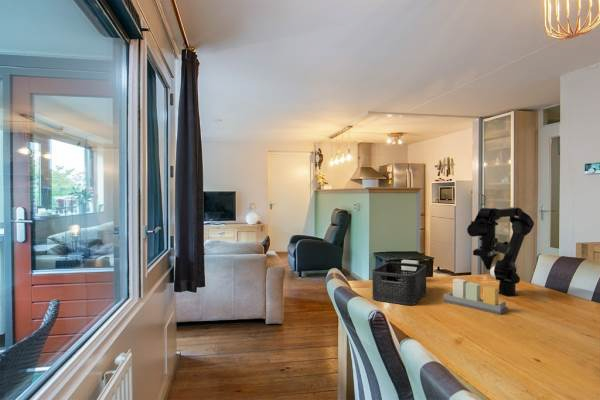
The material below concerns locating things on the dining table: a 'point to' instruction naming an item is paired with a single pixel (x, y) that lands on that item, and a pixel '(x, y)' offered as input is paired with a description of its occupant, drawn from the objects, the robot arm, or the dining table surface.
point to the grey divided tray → (476, 304)
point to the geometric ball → (492, 272)
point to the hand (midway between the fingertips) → (488, 269)
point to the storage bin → (399, 283)
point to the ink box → (409, 267)
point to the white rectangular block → (459, 287)
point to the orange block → (490, 295)
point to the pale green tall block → (473, 291)
